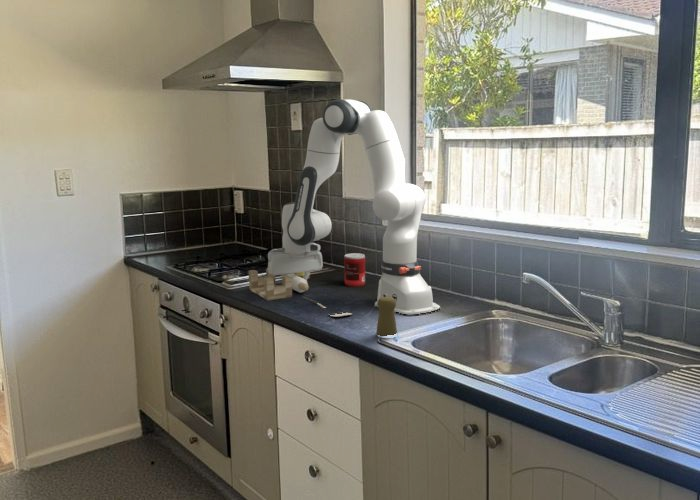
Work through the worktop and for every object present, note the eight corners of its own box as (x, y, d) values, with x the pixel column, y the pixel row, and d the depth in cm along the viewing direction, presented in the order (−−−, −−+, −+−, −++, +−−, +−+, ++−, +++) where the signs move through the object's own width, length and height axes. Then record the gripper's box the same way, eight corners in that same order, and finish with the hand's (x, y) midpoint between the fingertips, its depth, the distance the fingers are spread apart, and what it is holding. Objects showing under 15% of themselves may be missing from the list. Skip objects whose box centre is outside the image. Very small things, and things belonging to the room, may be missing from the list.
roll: (312, 293, 236) (311, 279, 235) (299, 295, 233) (298, 281, 232) (293, 284, 249) (292, 270, 248) (281, 286, 247) (280, 273, 246)
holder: (292, 297, 231) (291, 277, 230) (267, 300, 227) (267, 280, 225) (272, 286, 246) (271, 267, 245) (249, 289, 242) (248, 270, 241)
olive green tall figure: (398, 338, 186) (399, 300, 184) (377, 339, 186) (377, 300, 184) (395, 331, 192) (395, 294, 190) (374, 332, 192) (374, 295, 190)
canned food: (361, 281, 253) (361, 252, 251) (368, 285, 246) (368, 256, 244) (341, 282, 251) (341, 253, 249) (348, 287, 243) (348, 258, 241)
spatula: (336, 321, 204) (336, 316, 204) (295, 299, 230) (295, 295, 229) (353, 318, 207) (353, 313, 207) (311, 297, 233) (311, 293, 232)
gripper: (271, 251, 231) (272, 290, 233) (324, 245, 240) (324, 282, 243) (264, 248, 236) (265, 286, 239) (316, 242, 246) (317, 279, 248)
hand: (295, 284), depth 241 cm, fingers closed on roll, 5 cm apart
